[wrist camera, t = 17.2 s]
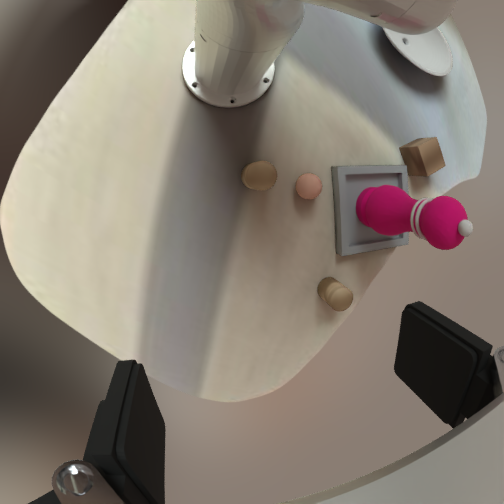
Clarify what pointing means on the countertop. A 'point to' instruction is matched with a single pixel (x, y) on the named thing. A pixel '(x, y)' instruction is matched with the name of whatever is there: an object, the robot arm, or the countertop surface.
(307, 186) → the ball
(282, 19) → the robot arm
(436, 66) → the dish
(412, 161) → the walnut block
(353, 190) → the tray
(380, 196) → the pepper mill
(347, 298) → the cork
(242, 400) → the countertop surface
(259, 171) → the cork
